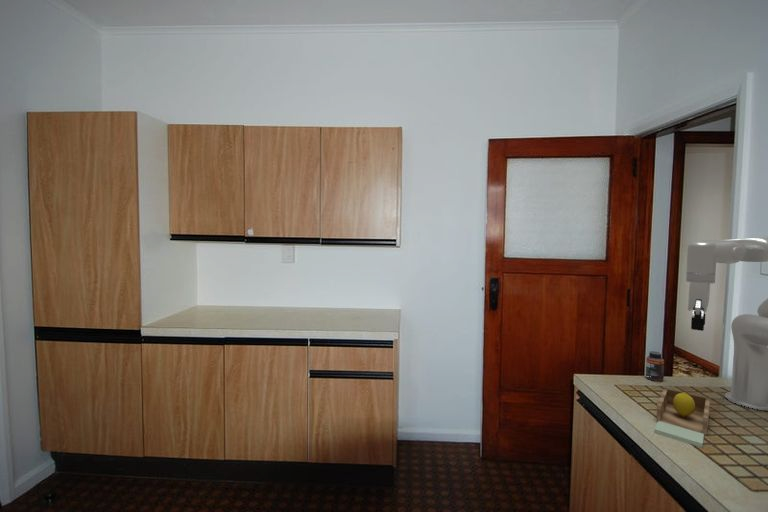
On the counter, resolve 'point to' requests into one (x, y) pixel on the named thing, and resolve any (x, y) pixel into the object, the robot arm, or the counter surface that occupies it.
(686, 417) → the crate
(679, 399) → the lemon
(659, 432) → the panel
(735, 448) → the counter surface
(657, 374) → the supplement bottle
